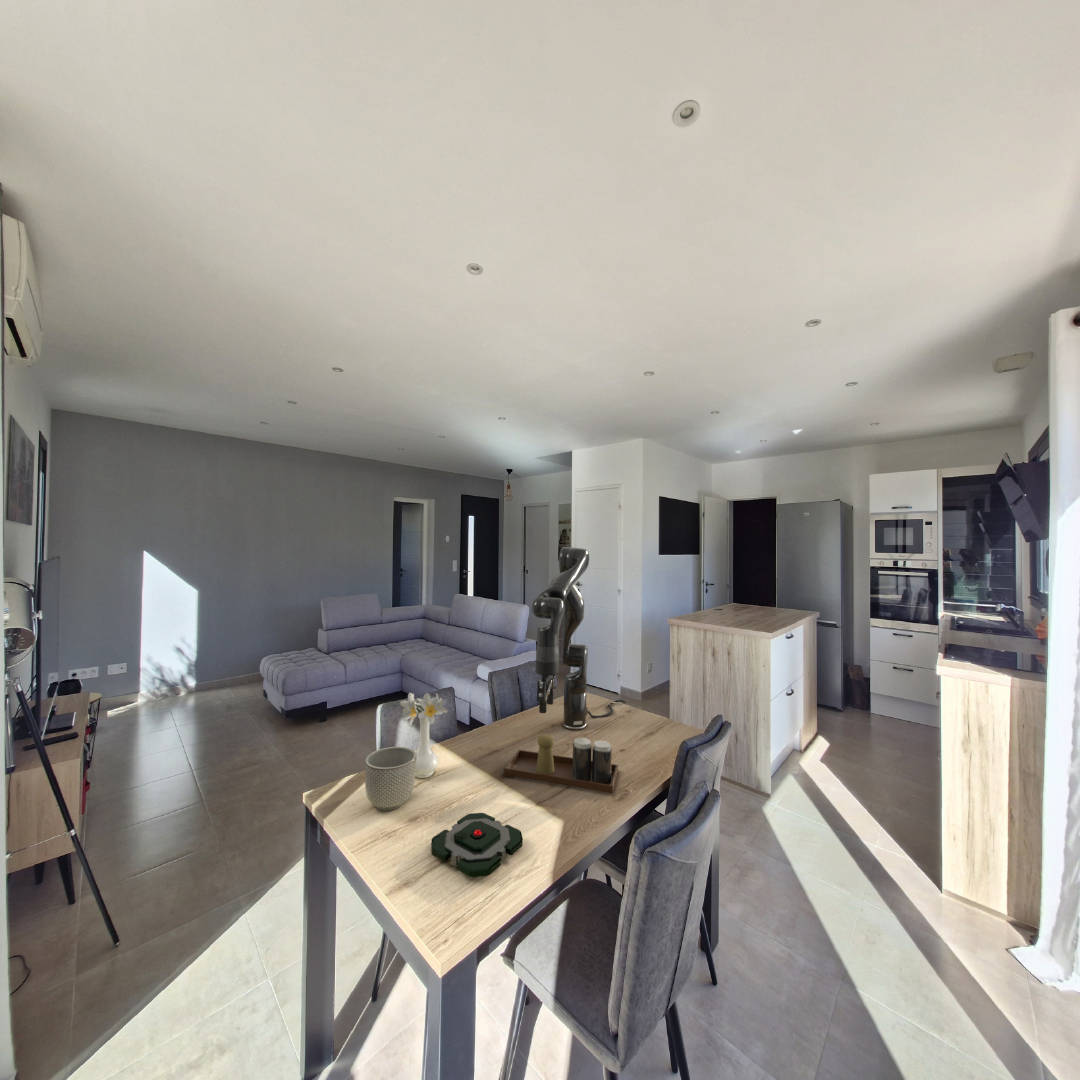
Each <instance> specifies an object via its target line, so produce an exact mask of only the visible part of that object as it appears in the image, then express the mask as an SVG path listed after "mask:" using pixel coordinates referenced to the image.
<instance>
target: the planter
mask: <svg viewBox="0 0 1080 1080" xmlns="http://www.w3.org/2000/svg"><path fill="white" fill-rule="evenodd" d="M416 763H417V755H416V751H415V750H414V749H412V748H409V747H406V746H389V747H388V746H387V747H383V748H379V749H377V750H374V751H372V752H371V753H369V754H368V755H367V756H366V757H365V759H364V765H363V767H364V784H365V794H366V798H367V800H368V802H369V803H370V804H372V805H373V806H374V807H376V808H377V809H378V810H380V811H383V812H388V811H389V812H390V811H394V810H397V809H398V808H400V807H401V806H402V805H403V803H404V802H406V801H407V800H408V799H409V798H410V796H411V795H412V793H413V790H414V787H415V781H416V777H415V774H416Z"/></svg>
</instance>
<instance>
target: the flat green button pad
mask: <svg viewBox="0 0 1080 1080" xmlns="http://www.w3.org/2000/svg"><path fill="white" fill-rule="evenodd" d="M522 833H523V832H522V831H521V830H520V829H518V828H517V827H514V826H512V825H510V824H505V825H502V822H501V821H500V820H496V818H495V817H493V816H491V815H490V814H487V813H485V812H474V813H467V814H466V815H464V816H462V817H461V818H459V819H458V820H457V821H456V823H454V824H453V825H452V826H451V829H450V830H448V829H443V830H442V831H441V832H439V833H437V834H436V835H434V836H433V837H432V838H431V844H430V854H431V856H433V857H435V858H436V859H438V860H440V861H441V862H446V861H448V860H450V864H451V866H453V867H456V870H457V872H460V873H461V874H463V875H465V876H467V877H469V878H482V877H488V876H490V875H492V873H494V872H495V871H496V870H497V869H498V868H500V867H501V865H502V864H501V862H503V861H504V860H505V859H506V854H507V855H508V856H513V855H514V854H516V853H517V852H518V851H519V850H520V849H521V848H523V845H524V838H523V835H522Z"/></svg>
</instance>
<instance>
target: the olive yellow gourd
mask: <svg viewBox="0 0 1080 1080" xmlns="http://www.w3.org/2000/svg"><path fill="white" fill-rule="evenodd" d="M537 744H538V752H537V753H538V759H537V766H536V771H537V772H538V773H541V774H551V773H553V772H554V771H555V770H554V761H553V755H554V752H553V746H554V744H555V740H554V737H553V735H551V734H550V733H549V734H548V733H544V734H540V735H539V736H538V738H537Z"/></svg>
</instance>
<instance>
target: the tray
mask: <svg viewBox="0 0 1080 1080" xmlns="http://www.w3.org/2000/svg"><path fill="white" fill-rule="evenodd" d="M538 753H539V752H537V751H531V750H530V751H529V750H525V749H524V750H523V749H518V750H517V751H516V752H515V754H514V755H513V756H512V757H511V759H510V760H509V761H508V763H507V764H506V765H505V766H504V767H503V777H508V778H512V779H514V778H521V779H527V780H532V781H537V782H538V781H539V782H543V783H551V784H555V785H560V786H561V785H562V786H567V787H573V788H579V789H583V790H584V789H585V790H590V791H595V792H596V791H597V792H602V793H608V794H613V793H614V789H615V785H616V781H617V776H618V773H619V765H618V764H616V763H612V766H611V782H610V783H608V784H601V783H596V782H594V781H593V780H592V761H591V778H590V779H589V780H586V781H583V780H577V779H574V778H573V777H572V761H573V757H570V756H569V757H568V756H563V755H557V754H553V761H554V770H555V771H554V772H553V773H551V774H541V773H538V772H537V771H536V766H537V759H538Z"/></svg>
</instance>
